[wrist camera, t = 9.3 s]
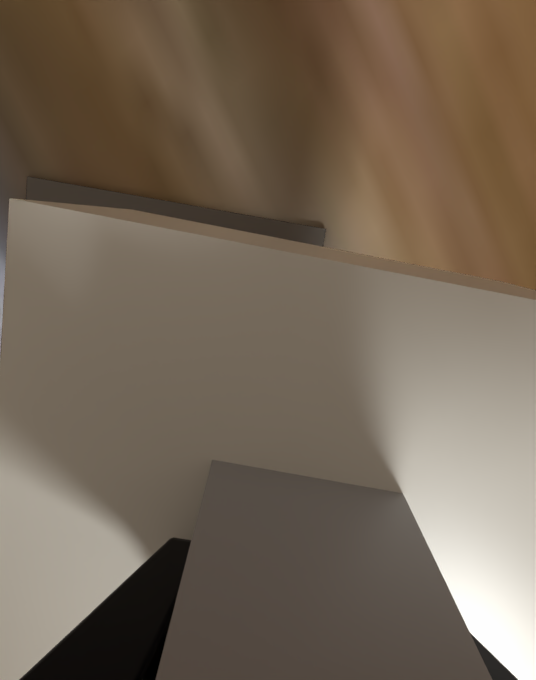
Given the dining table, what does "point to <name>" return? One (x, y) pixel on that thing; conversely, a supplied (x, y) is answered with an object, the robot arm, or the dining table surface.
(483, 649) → the robot arm
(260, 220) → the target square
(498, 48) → the dining table surface
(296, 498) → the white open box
